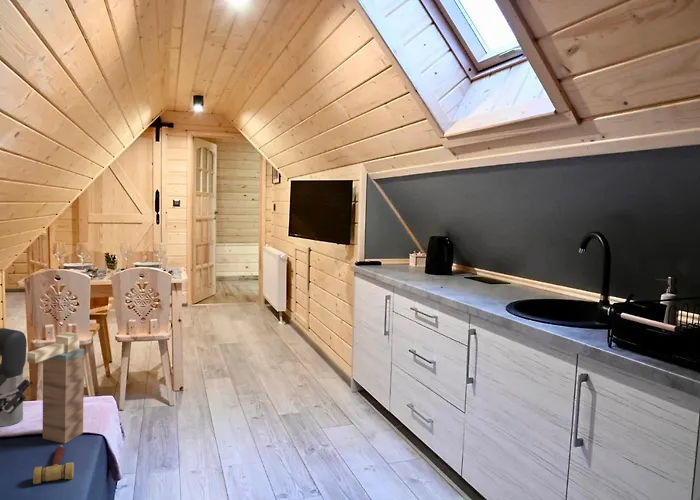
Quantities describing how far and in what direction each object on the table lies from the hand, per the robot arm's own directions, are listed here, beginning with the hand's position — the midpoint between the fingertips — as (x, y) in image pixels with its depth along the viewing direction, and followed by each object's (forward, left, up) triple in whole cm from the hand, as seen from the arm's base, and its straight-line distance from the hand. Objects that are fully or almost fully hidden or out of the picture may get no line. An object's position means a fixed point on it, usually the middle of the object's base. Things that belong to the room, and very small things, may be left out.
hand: (16, 379), depth 153 cm
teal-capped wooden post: (+6, +18, -27) cm, 33 cm away
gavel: (+12, -1, -27) cm, 30 cm away
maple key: (+4, +14, +3) cm, 15 cm away
